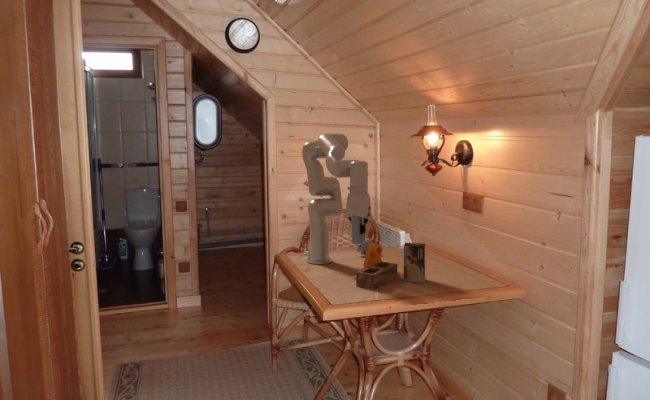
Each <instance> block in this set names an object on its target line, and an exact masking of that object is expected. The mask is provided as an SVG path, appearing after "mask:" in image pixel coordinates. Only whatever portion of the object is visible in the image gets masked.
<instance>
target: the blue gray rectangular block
mask: <svg viewBox="0 0 650 400" xmlns="http://www.w3.org/2000/svg"><path fill="white" fill-rule="evenodd" d="M360 225H361V218H359V216H354V215H352V224H351V243H352V244H354V245H358V244H360V243H363V242H365V238H366V232H365V233H364V234H360Z"/></svg>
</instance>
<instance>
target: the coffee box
mask: <svg viewBox="0 0 650 400" xmlns="http://www.w3.org/2000/svg"><path fill="white" fill-rule="evenodd" d="M403 282H408V283H422V284H424V283H425V282H426V243H421V242H420V243H418V242H417V243H416V242H405V243H404V245H403Z"/></svg>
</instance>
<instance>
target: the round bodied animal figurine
mask: <svg viewBox="0 0 650 400" xmlns="http://www.w3.org/2000/svg"><path fill="white" fill-rule="evenodd" d="M371 243H373V244H374V242H373V240H372V239H371V238H368V237H365V242H363V243H360V244H356V248H355V250H356V252H357V253H361V254H363V255H366V253H367V249H368V246H369V245H370V244H371Z"/></svg>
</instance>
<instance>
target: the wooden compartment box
mask: <svg viewBox="0 0 650 400" xmlns="http://www.w3.org/2000/svg"><path fill="white" fill-rule="evenodd" d="M382 261H383V260H382ZM382 261H379V262H376V263H374V264H372V265H370V266H368V267H366V268H364V267H363V269H360V270H358V271H356V273H355V274H356V275H355V280H356V281H355V283H356V284H355V286H356V287H358V288H365V289H369V290H378V289H379V288H381V287H382V286H384V285H386V284H387V283H389V282H391V281H392V280H394V279H396V278H398V263H394V262H387V261H383V262H382Z"/></svg>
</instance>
